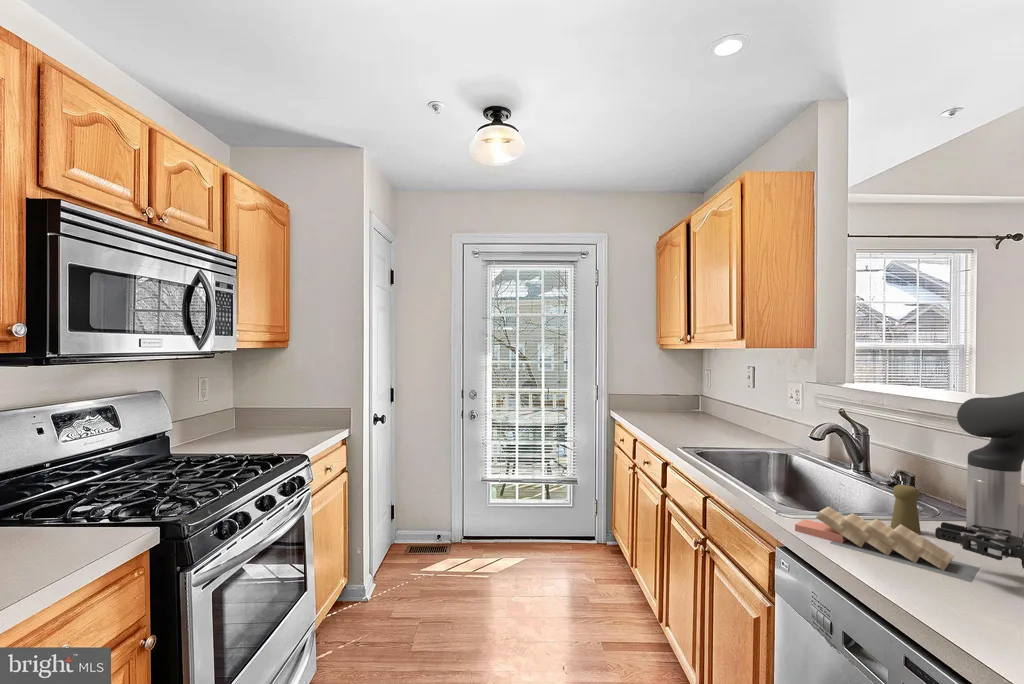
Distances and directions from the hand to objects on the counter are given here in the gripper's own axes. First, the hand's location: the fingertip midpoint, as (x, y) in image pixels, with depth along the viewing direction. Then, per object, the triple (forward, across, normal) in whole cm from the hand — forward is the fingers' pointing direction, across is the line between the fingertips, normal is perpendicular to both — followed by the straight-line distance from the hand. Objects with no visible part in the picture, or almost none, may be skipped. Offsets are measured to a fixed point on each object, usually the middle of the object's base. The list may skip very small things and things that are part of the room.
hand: (939, 529), depth 106 cm
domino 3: (+7, 0, +6) cm, 10 cm away
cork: (+10, -20, +8) cm, 24 cm away
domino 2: (+12, 0, +6) cm, 14 cm away
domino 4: (+3, 0, +6) cm, 7 cm away
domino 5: (-2, 0, +6) cm, 7 cm away
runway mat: (+6, 0, +8) cm, 10 cm away
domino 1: (+16, 0, +6) cm, 17 cm away
